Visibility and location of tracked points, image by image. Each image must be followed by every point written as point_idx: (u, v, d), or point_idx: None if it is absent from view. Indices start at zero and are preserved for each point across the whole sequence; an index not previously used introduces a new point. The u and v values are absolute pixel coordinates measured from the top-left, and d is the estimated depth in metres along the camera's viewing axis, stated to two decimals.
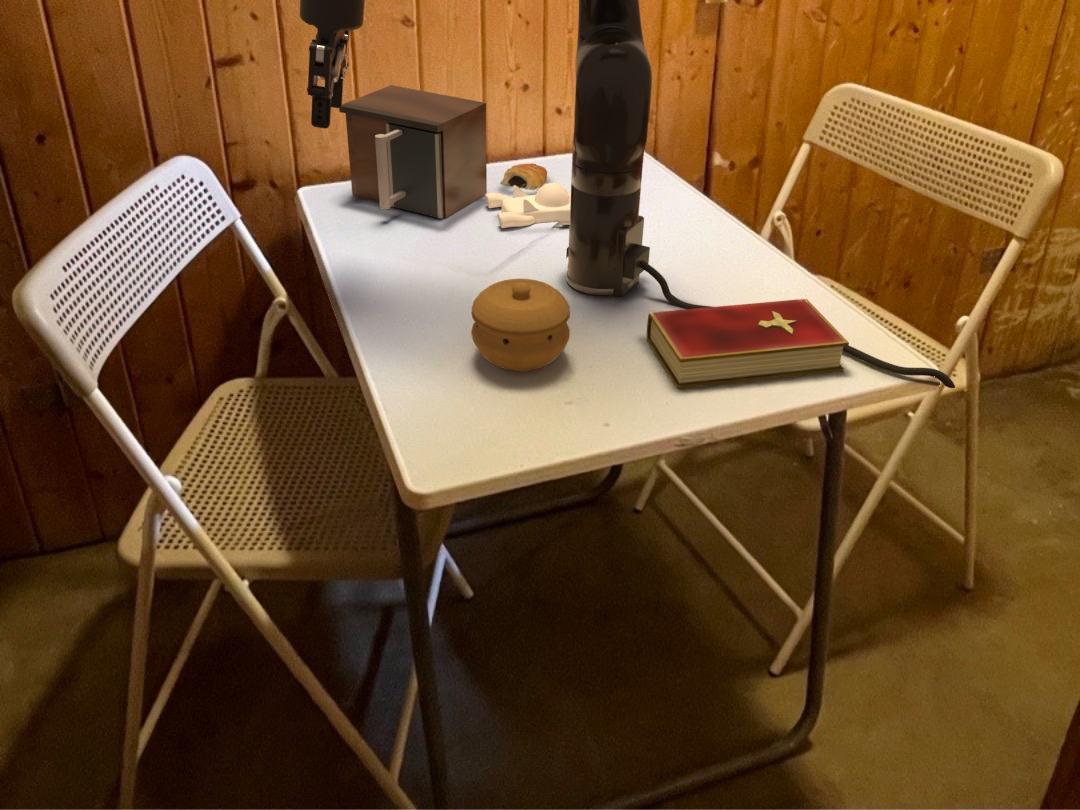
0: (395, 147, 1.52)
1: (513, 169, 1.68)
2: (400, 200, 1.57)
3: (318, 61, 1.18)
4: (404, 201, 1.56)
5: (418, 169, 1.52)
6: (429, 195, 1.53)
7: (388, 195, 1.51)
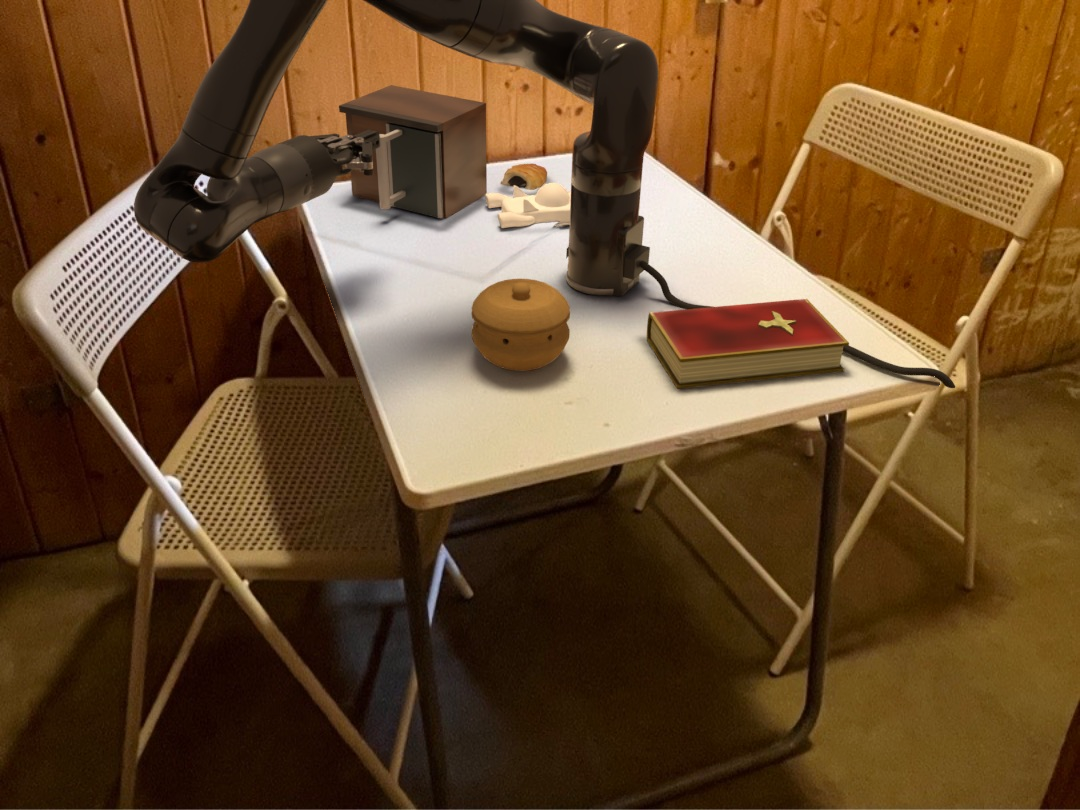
0: (395, 147, 1.52)
1: (513, 169, 1.68)
2: (400, 200, 1.57)
3: None
4: (404, 201, 1.56)
5: (418, 169, 1.52)
6: (429, 195, 1.53)
7: (388, 195, 1.51)
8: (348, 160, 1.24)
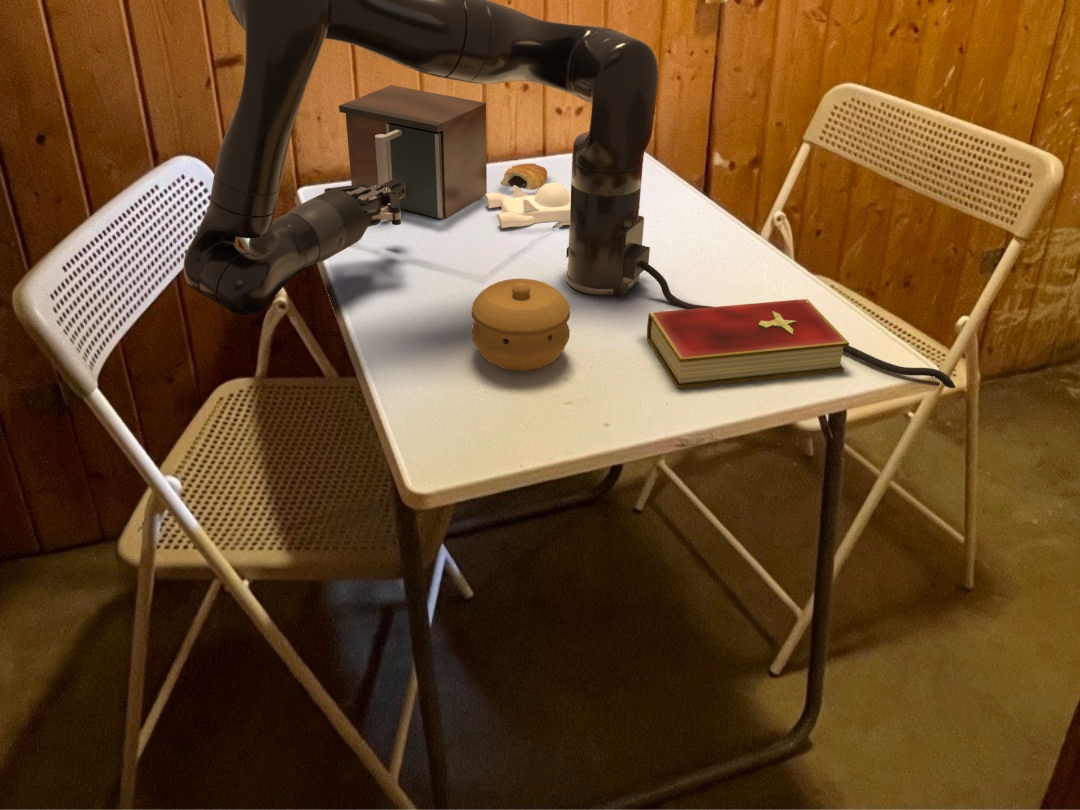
0: (395, 147, 1.52)
1: (513, 169, 1.68)
2: (400, 200, 1.57)
3: None
4: (404, 201, 1.56)
5: (418, 169, 1.52)
6: (429, 195, 1.53)
7: None
8: (378, 211, 1.32)
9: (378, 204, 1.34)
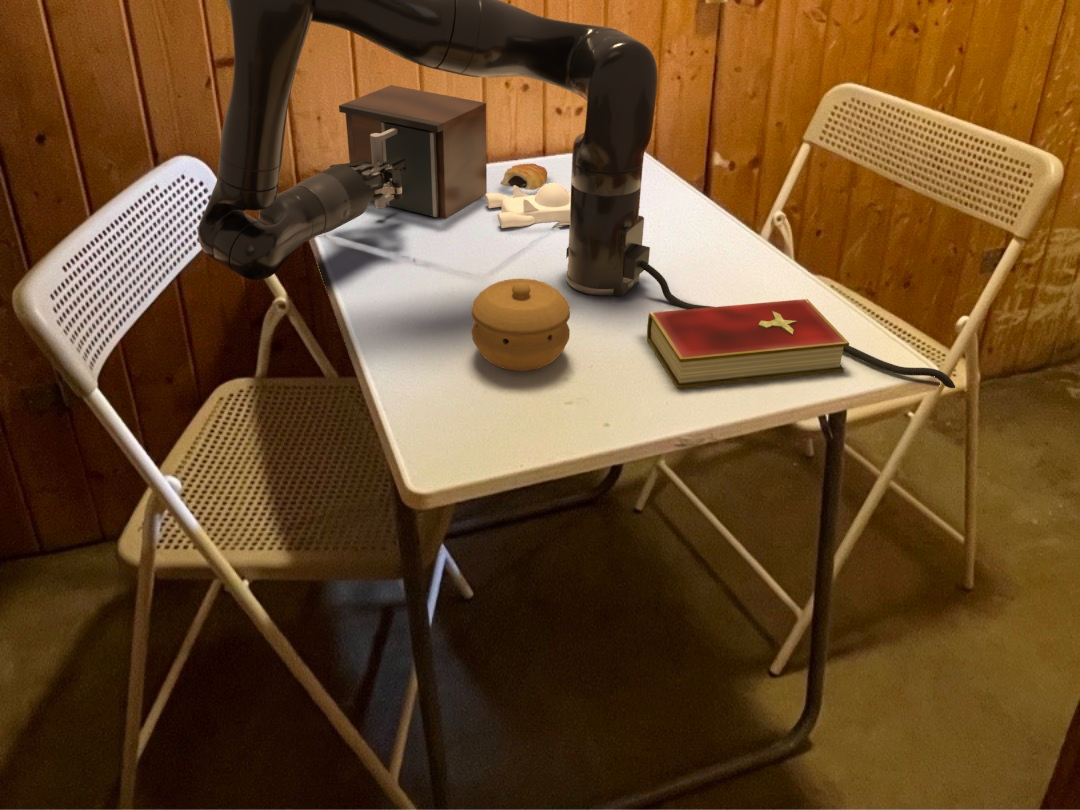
0: (390, 146, 1.53)
1: (513, 169, 1.68)
2: (395, 199, 1.57)
3: None
4: (399, 200, 1.57)
5: (413, 168, 1.52)
6: (424, 194, 1.54)
7: None
8: (380, 186, 1.40)
9: (381, 179, 1.41)
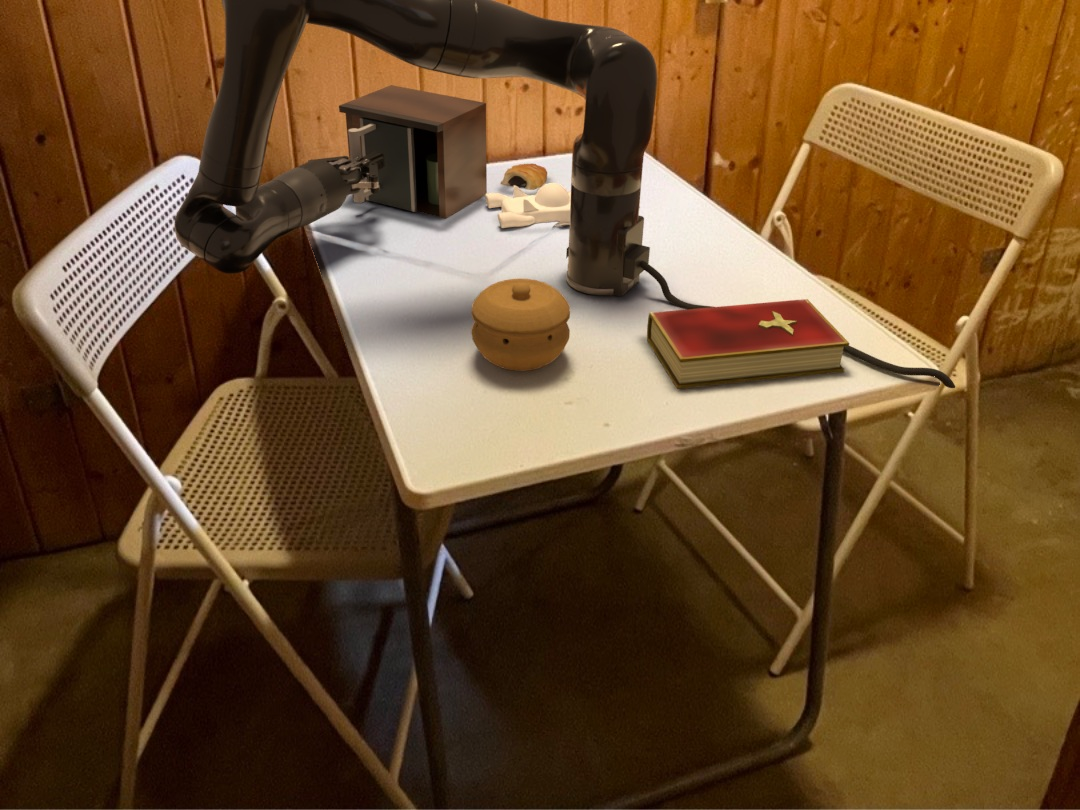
0: (369, 141, 1.54)
1: (513, 169, 1.68)
2: (375, 194, 1.59)
3: None
4: (379, 195, 1.58)
5: (392, 163, 1.54)
6: (403, 189, 1.55)
7: (362, 189, 1.53)
8: (357, 180, 1.41)
9: (358, 174, 1.43)
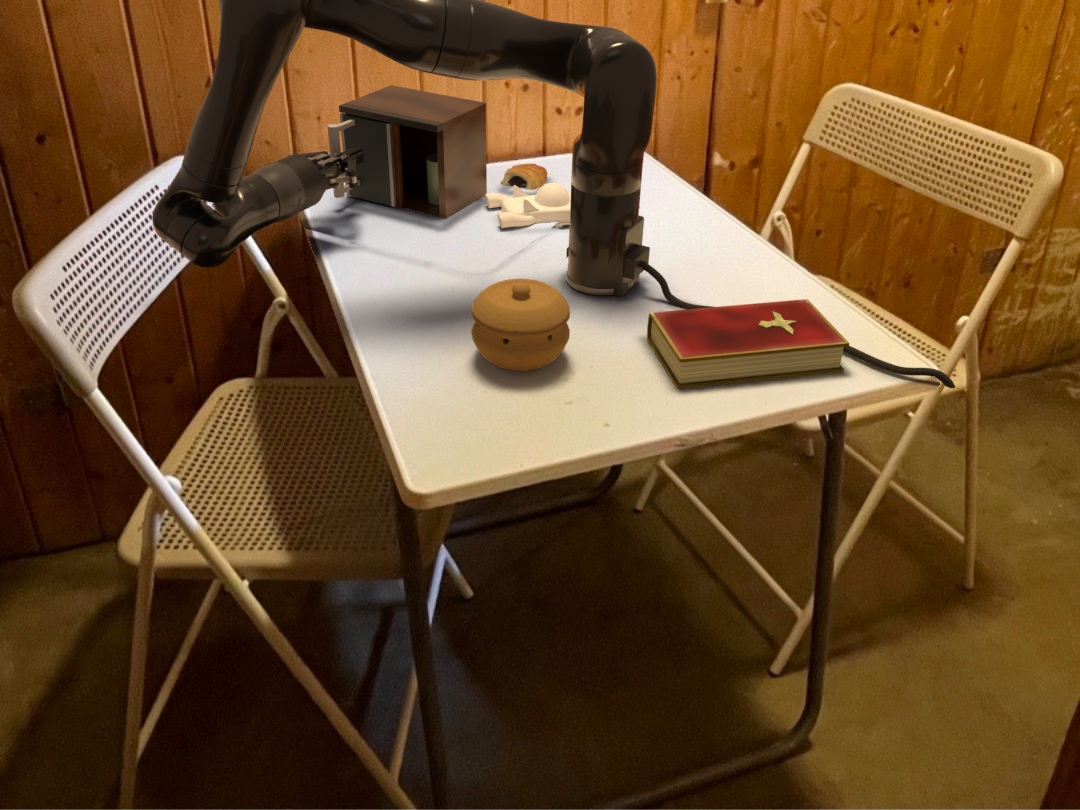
0: (349, 137, 1.56)
1: (513, 169, 1.68)
2: (355, 189, 1.60)
3: None
4: (359, 190, 1.60)
5: (371, 158, 1.56)
6: (382, 184, 1.57)
7: (342, 184, 1.55)
8: (335, 175, 1.43)
9: (336, 169, 1.45)
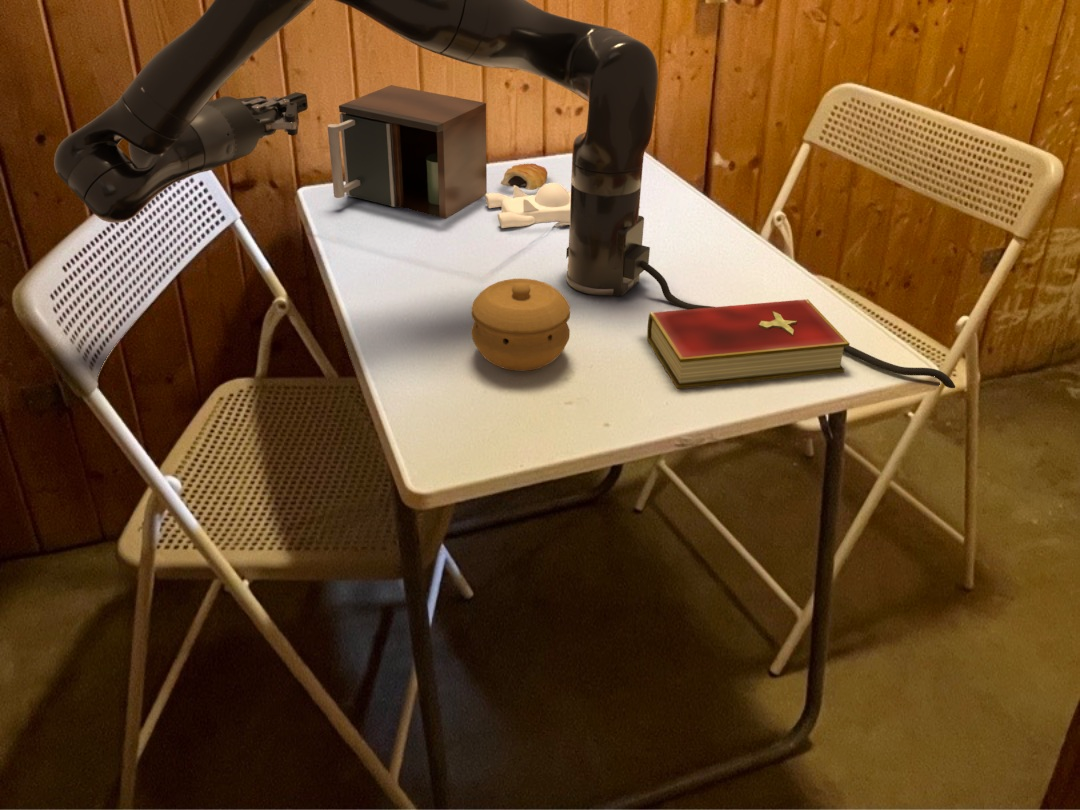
0: (349, 137, 1.56)
1: (513, 169, 1.68)
2: (355, 189, 1.60)
3: None
4: (359, 190, 1.60)
5: (371, 158, 1.56)
6: (382, 184, 1.57)
7: (342, 184, 1.55)
8: (271, 120, 1.27)
9: (273, 114, 1.29)
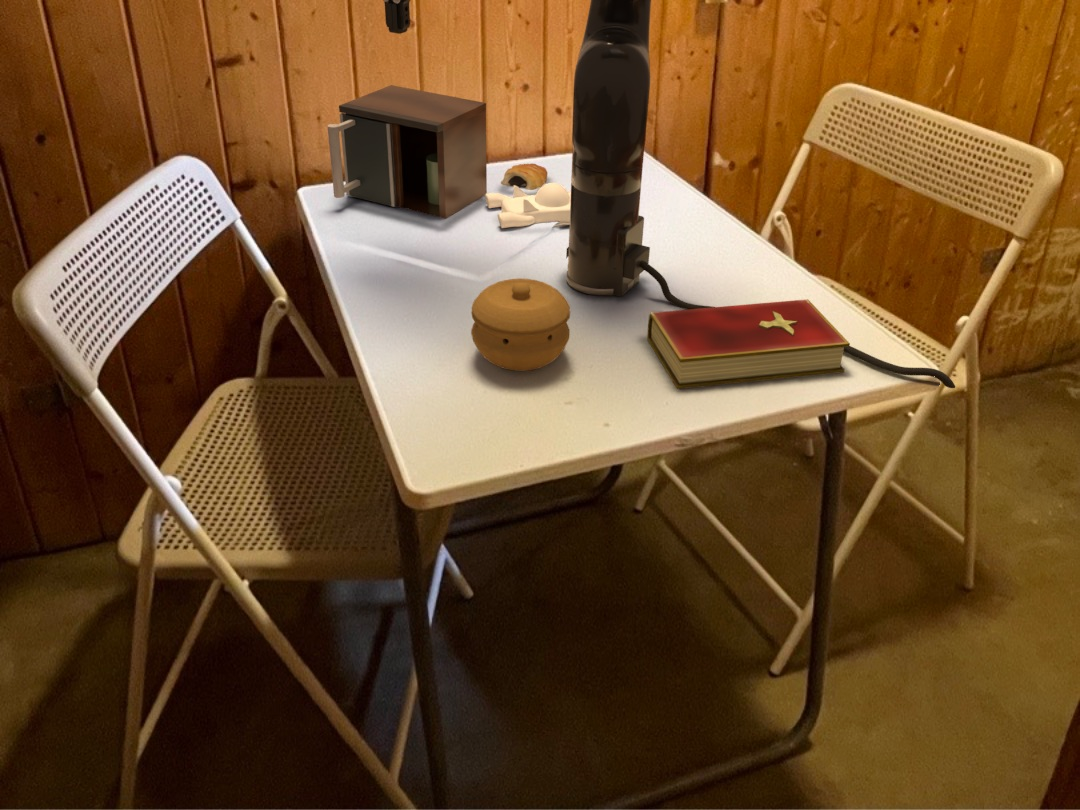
0: (349, 137, 1.56)
1: (513, 169, 1.68)
2: (355, 189, 1.60)
3: None
4: (359, 190, 1.60)
5: (371, 158, 1.56)
6: (382, 184, 1.57)
7: (342, 184, 1.55)
8: None
9: None
